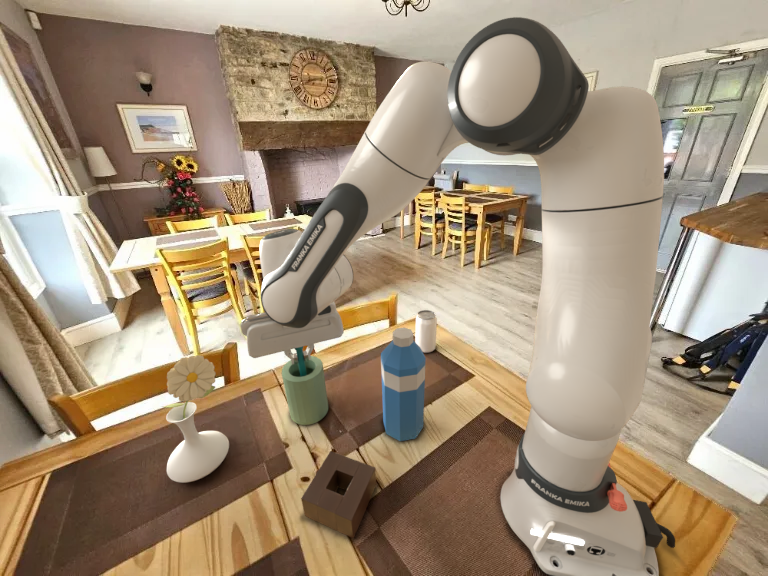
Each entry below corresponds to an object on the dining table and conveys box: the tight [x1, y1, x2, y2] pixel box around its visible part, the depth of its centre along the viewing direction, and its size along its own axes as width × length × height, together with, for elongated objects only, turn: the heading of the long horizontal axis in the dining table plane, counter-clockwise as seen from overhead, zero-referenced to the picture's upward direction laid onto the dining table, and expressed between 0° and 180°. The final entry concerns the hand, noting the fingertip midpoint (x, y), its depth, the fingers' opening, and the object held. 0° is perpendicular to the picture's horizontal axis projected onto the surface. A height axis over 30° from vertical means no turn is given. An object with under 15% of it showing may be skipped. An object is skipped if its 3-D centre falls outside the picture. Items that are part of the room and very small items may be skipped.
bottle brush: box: [293, 346, 307, 377], centre depth 72 cm, size 3×3×19 cm
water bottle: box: [380, 327, 427, 442], centre depth 67 cm, size 9×9×25 cm
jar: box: [281, 355, 329, 426], centre depth 74 cm, size 9×9×13 cm
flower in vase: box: [160, 354, 230, 483], centre depth 60 cm, size 13×11×25 cm
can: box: [414, 309, 438, 354], centre depth 96 cm, size 6×6×12 cm
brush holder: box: [300, 450, 377, 539], centre depth 56 cm, size 10×10×5 cm
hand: (301, 360), depth 70 cm, fingers closed on bottle brush
